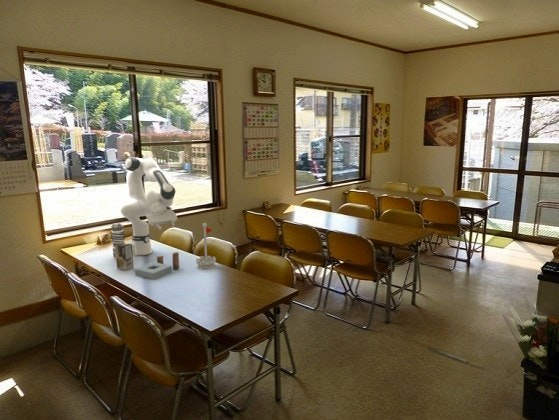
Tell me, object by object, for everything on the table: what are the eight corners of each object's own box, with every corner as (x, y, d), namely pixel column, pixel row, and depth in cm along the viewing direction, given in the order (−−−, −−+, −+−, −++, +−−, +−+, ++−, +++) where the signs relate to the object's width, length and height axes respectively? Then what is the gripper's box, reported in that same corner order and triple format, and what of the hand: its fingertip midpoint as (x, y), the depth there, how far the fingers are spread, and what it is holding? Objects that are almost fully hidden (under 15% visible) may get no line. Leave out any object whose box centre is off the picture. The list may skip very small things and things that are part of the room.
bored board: (135, 275, 256) (134, 269, 255) (153, 267, 270) (153, 262, 269) (153, 279, 248) (153, 273, 248) (172, 271, 262) (171, 265, 261)
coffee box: (134, 267, 271) (132, 244, 268) (126, 270, 265) (124, 246, 262) (123, 265, 275) (122, 242, 271) (116, 268, 269) (114, 244, 266)
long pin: (171, 269, 266) (170, 253, 264) (175, 267, 270) (175, 251, 268) (176, 270, 264) (175, 254, 262) (180, 268, 268) (179, 252, 266)
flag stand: (197, 270, 265) (195, 225, 259) (195, 264, 277) (194, 221, 271) (217, 268, 268) (215, 224, 262) (214, 262, 280) (213, 220, 275)
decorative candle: (123, 259, 288) (120, 225, 283) (110, 259, 288) (107, 225, 283) (128, 255, 297) (125, 222, 292) (115, 255, 297) (113, 222, 292)
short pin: (156, 266, 273) (155, 257, 271) (160, 264, 276) (159, 255, 275) (160, 267, 271) (159, 257, 270) (164, 265, 274) (164, 256, 273)
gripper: (146, 211, 267) (154, 227, 262) (173, 207, 282) (181, 222, 277) (143, 216, 271) (151, 233, 266) (170, 212, 286) (178, 228, 281)
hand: (167, 227), depth 272 cm, fingers open, 8 cm apart
